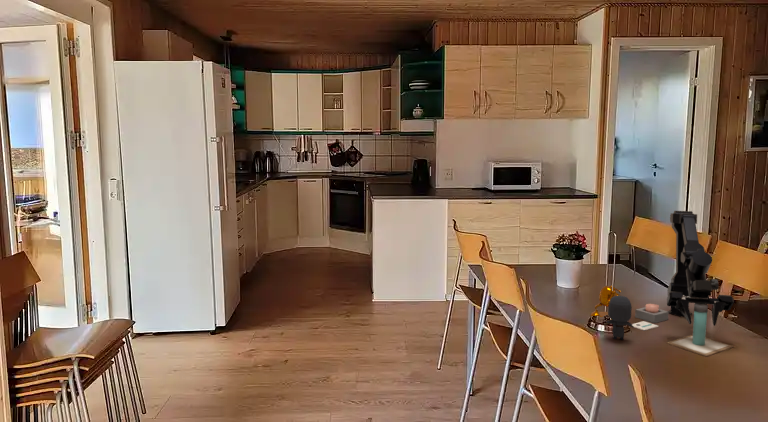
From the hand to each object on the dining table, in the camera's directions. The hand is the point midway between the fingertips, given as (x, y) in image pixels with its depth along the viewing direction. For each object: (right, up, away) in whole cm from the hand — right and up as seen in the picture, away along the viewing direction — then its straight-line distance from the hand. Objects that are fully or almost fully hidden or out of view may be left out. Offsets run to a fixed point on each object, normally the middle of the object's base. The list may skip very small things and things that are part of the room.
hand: (702, 324), depth 182 cm
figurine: (-19, -4, +31) cm, 37 cm away
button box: (-3, -4, +29) cm, 30 cm away
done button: (-3, -2, +29) cm, 29 cm away
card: (-9, -5, +21) cm, 23 cm away
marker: (0, -7, +3) cm, 7 cm away
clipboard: (0, -7, +2) cm, 8 cm away
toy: (-24, -7, +8) cm, 26 cm away
